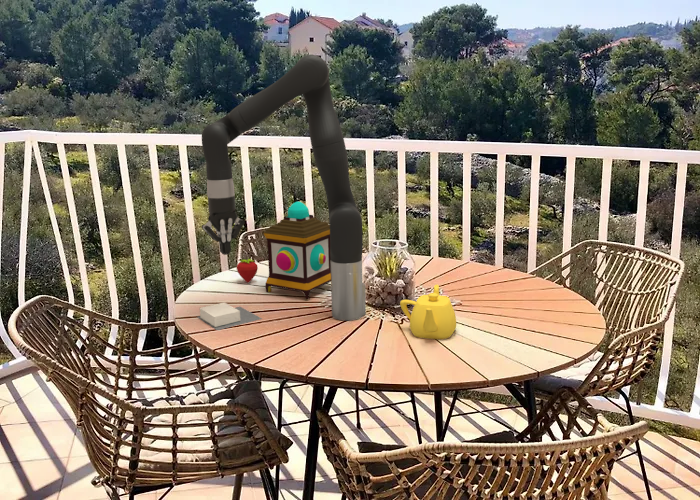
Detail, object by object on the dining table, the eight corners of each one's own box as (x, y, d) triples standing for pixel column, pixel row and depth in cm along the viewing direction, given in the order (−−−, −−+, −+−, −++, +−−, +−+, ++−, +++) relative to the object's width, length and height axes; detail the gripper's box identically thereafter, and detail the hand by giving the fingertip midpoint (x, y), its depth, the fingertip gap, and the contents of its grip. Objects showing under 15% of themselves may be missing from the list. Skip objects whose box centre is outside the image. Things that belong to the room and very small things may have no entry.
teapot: (405, 315, 195) (405, 280, 193) (458, 318, 192) (459, 283, 189) (393, 344, 175) (393, 305, 172) (452, 348, 171) (453, 308, 169)
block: (224, 302, 199) (199, 308, 194) (239, 310, 191) (214, 317, 187) (225, 312, 200) (200, 318, 195) (240, 321, 192) (215, 327, 188)
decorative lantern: (308, 303, 208) (305, 209, 201) (259, 293, 218) (254, 204, 211) (342, 286, 225) (340, 198, 217) (295, 278, 235) (291, 194, 227)
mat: (240, 307, 205) (240, 306, 205) (262, 319, 194) (262, 318, 194) (196, 318, 197) (196, 316, 197) (217, 331, 186) (217, 330, 186)
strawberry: (241, 279, 234) (239, 252, 232) (261, 280, 232) (259, 253, 230) (234, 284, 229) (232, 256, 226) (254, 285, 227) (253, 257, 224)
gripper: (205, 199, 180) (210, 260, 184) (248, 193, 187) (252, 252, 192) (193, 196, 186) (198, 255, 190) (236, 190, 193) (240, 247, 198)
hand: (225, 254), depth 191 cm, fingers closed
